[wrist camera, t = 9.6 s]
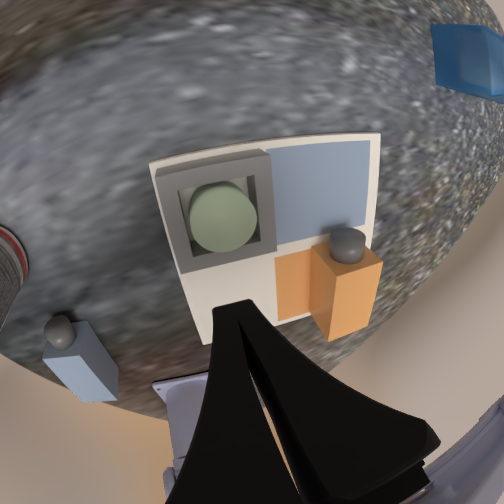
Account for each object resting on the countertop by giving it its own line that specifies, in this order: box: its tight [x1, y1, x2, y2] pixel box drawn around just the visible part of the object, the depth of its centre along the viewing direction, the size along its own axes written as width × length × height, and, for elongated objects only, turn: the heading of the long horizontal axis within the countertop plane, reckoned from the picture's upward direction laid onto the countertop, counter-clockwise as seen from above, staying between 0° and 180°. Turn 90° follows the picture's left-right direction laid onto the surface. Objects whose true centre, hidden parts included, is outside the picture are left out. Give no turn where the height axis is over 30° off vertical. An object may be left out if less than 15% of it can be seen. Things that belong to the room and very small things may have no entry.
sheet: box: [149, 132, 380, 345], centre depth 20 cm, size 16×16×1 cm
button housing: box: [155, 148, 277, 274], centre depth 16 cm, size 6×6×2 cm
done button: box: [188, 181, 257, 252], centre depth 15 cm, size 4×4×2 cm
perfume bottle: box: [430, 24, 504, 104], centre depth 10 cm, size 6×6×12 cm
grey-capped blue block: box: [42, 315, 119, 402], centre depth 19 cm, size 8×4×4 cm, turn 4°
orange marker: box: [309, 227, 383, 342], centre depth 21 cm, size 8×4×4 cm, turn 6°
